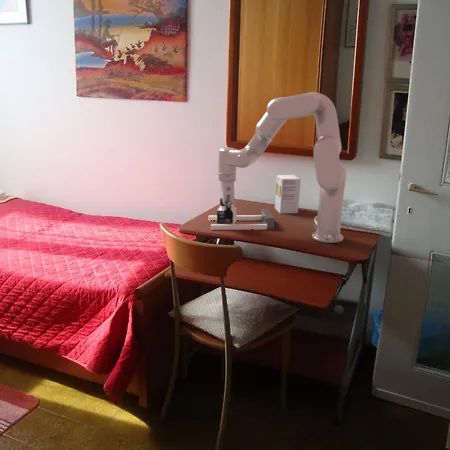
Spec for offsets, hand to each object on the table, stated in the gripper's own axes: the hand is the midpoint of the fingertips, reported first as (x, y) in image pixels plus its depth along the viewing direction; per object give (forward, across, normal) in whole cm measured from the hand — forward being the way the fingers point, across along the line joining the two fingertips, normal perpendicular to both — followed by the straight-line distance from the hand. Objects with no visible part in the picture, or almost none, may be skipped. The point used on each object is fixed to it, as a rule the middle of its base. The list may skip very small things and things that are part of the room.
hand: (226, 215), depth 233 cm
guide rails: (+4, 0, -5) cm, 6 cm away
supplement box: (+5, +22, -32) cm, 39 cm away
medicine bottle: (+4, 0, 0) cm, 4 cm away
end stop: (+4, 0, -18) cm, 19 cm away
